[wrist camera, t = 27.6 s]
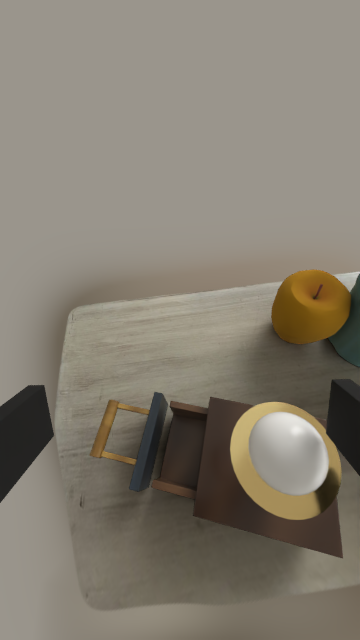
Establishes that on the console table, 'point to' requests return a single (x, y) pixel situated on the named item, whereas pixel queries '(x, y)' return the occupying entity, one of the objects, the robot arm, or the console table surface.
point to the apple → (310, 307)
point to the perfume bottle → (285, 460)
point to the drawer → (180, 449)
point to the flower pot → (350, 330)
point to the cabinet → (237, 506)
